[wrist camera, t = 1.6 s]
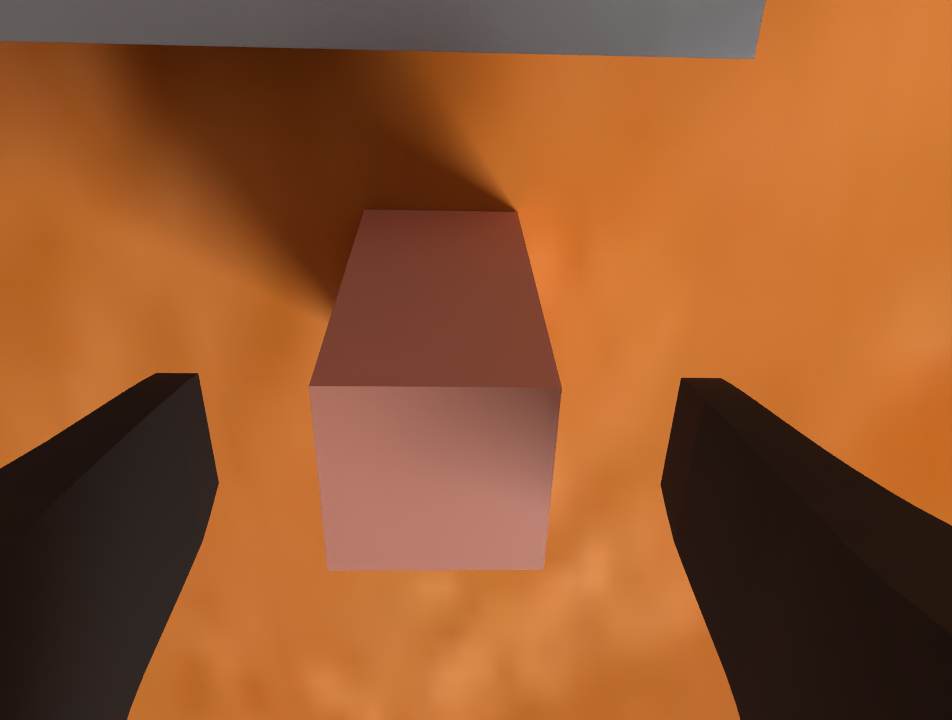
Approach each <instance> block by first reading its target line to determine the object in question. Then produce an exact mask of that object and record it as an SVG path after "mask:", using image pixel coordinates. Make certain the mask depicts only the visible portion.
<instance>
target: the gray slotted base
mask: <svg viewBox="0 0 952 720" xmlns="http://www.w3.org/2000/svg"><path fill="white" fill-rule="evenodd" d="M765 1H766V0H0V41H19V42H61V43H103V44H145V45H186V46H228V47H270V48H312V49H354V50H395V51H437V52H479V53H521V54H563V55H604V56H646V57H688V58H730V59H754V56H755V51H756V46H757V41H758V36H759V31H760V26H761V21H762V16H763V11H764V6H765Z"/></svg>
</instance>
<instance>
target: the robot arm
mask: <svg viewBox="0 0 952 720" xmlns="http://www.w3.org/2000/svg"><path fill="white" fill-rule="evenodd" d="M218 484H219V482H218V476H217V471H216V466H215V460H214V455H213V450H212V444H211V439H210V434H209V428H208V423H207V418H206V412H205V407H204V402H203V396H202V391H201V386H200V380H199V375H198V373H156V374H154V375H152V376H150V377H148V378H146V379H144V380H143V381H141V382H139V383H137V384H136V385H134V386H132V387H131V388H129V389H128V390H126V391H124V392H123V393H121V394H120V395H118V396H117V397H115V398H113V399H112V400H110V401H109V402H107V403H106V404H104V405H103V406H101V407H99V408H98V409H96V410H95V411H93V412H92V413H90V414H89V415H87V416H85V417H84V418H82V419H81V420H79V421H78V422H76V423H75V424H73V425H71V426H70V427H68V428H67V429H65V430H64V431H62V432H60V433H59V434H57V435H56V436H54V437H53V438H51V439H49V440H48V441H46V442H45V443H43V444H41V445H40V446H38V447H36V448H35V449H33V450H31V451H29V452H28V453H26V454H24V455H23V456H21V457H19V458H18V459H16V460H14V461H12V462H11V463H9V464H7V465H6V466H4V467H2V468H0V720H127V718H128V714H129V711H130V708H131V706H132V703H133V701H134V698H135V696H136V693H137V690H138V688H139V685H140V683H141V680H142V678H143V675H144V673H145V671H146V668H147V666H148V664H149V662H150V659H151V657H152V655H153V653H154V651H155V648H156V646H157V644H158V642H159V639H160V637H161V635H162V633H163V630H164V628H165V626H166V624H167V621H168V619H169V617H170V615H171V612H172V610H173V608H174V606H175V603H176V601H177V599H178V597H179V594H180V592H181V590H182V588H183V585H184V583H185V581H186V579H187V576H188V574H189V572H190V569H191V567H192V565H193V562H194V560H195V558H196V556H197V553H198V551H199V548H200V546H201V544H202V541H203V538H204V534H205V531H206V528H207V524H208V521H209V518H210V514H211V510H212V507H213V503H214V499H215V495H216V491H217V488H218ZM661 489H662V493H663V498H664V502H665V507H666V511H667V516H668V520H669V523H670V527H671V531H672V535H673V539H674V543H675V545H676V548H677V551H678V554H679V556H680V559H681V561H682V564H683V567H684V569H685V572H686V574H687V577H688V580H689V582H690V585H691V587H692V590H693V592H694V595H695V597H696V600H697V602H698V605H699V607H700V610H701V613H702V615H703V618H704V620H705V623H706V625H707V628H708V630H709V633H710V635H711V638H712V640H713V643H714V645H715V648H716V650H717V653H718V655H719V658H720V660H721V663H722V666H723V668H724V671H725V673H726V676H727V679H728V682H729V685H730V688H731V691H732V693H733V696H734V699H735V702H736V705H737V709H738V712H739V716H740V720H952V526H951V525H949V524H947V523H946V522H944V521H942V520H940V519H938V518H936V517H934V516H932V515H931V514H929V513H927V512H925V511H923V510H921V509H919V508H917V507H916V506H914V505H912V504H910V503H909V502H907V501H905V500H904V499H902V498H900V497H898V496H897V495H895V494H893V493H892V492H890V491H888V490H887V489H885V488H884V487H882V486H880V485H879V484H877V483H876V482H874V481H872V480H871V479H869V478H867V477H866V476H864V475H863V474H861V473H859V472H858V471H856V470H855V469H853V468H852V467H850V466H848V465H847V464H845V463H844V462H842V461H841V460H839V459H838V458H836V457H835V456H833V455H832V454H830V453H829V452H827V451H826V450H825V449H823V448H822V447H820V446H819V445H817V444H816V443H814V442H813V441H811V440H810V439H809V438H807V437H806V436H804V435H803V434H801V433H800V432H799V431H797V430H796V429H794V428H793V427H792V426H790V425H789V424H787V423H786V422H785V421H783V420H782V419H780V418H779V417H778V416H776V415H775V414H773V413H772V412H771V411H769V410H768V409H766V408H765V407H764V406H762V405H761V404H759V403H758V402H757V401H755V400H754V399H752V398H751V397H750V396H748V395H747V394H745V393H744V392H742V391H741V390H739V389H738V388H736V387H735V386H733V385H732V384H730V383H728V382H727V381H725V380H723V379H722V378H681V381H680V386H679V392H678V397H677V402H676V407H675V413H674V418H673V423H672V428H671V433H670V439H669V444H668V449H667V454H666V459H665V465H664V470H663V475H662V480H661Z"/></svg>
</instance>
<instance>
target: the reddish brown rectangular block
mask: <svg viewBox="0 0 952 720" xmlns="http://www.w3.org/2000/svg"><path fill="white" fill-rule="evenodd" d="M561 389H562V387H561V383H560V379H559V375H558V371H557V367H556V363H555V359H554V355H553V351H552V347H551V343H550V339H549V335H548V332H547V328H546V324H545V320H544V316H543V312H542V308H541V304H540V300H539V296H538V292H537V288H536V284H535V280H534V276H533V272H532V268H531V264H530V260H529V256H528V253H527V249H526V245H525V241H524V237H523V233H522V229H521V225H520V221H519V217H518V213H517V212H509V211H443V210H377V209H364V211H363V215H362V218H361V221H360V224H359V228H358V231H357V234H356V237H355V240H354V244H353V247H352V250H351V253H350V256H349V260H348V263H347V266H346V269H345V272H344V276H343V279H342V282H341V285H340V288H339V292H338V295H337V298H336V301H335V304H334V308H333V311H332V314H331V317H330V320H329V324H328V327H327V330H326V333H325V336H324V340H323V343H322V346H321V349H320V352H319V356H318V359H317V362H316V365H315V368H314V372H313V375H312V378H311V381H310V384H309V391H310V401H311V411H312V421H313V431H314V440H315V450H316V460H317V470H318V480H319V490H320V500H321V510H322V519H323V529H324V539H325V549H326V559H327V569H328V571H365V570H544V561H545V551H546V541H547V530H548V520H549V510H550V500H551V490H552V480H553V470H554V460H555V450H556V439H557V429H558V419H559V409H560V399H561Z"/></svg>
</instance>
